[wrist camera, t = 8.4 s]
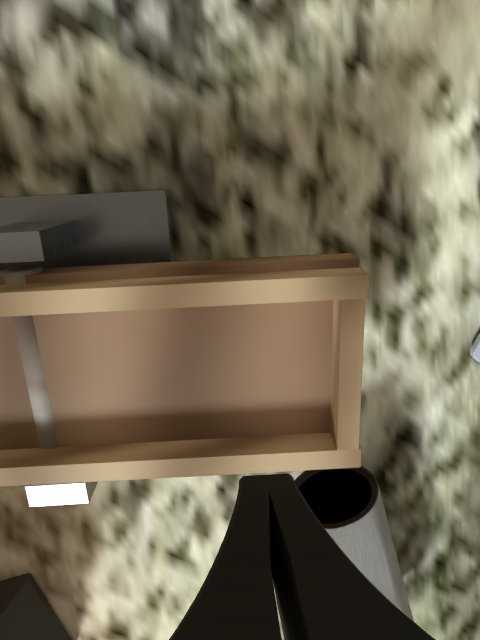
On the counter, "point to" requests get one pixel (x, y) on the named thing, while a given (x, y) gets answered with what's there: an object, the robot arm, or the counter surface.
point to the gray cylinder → (357, 525)
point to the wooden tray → (180, 368)
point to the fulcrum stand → (83, 256)
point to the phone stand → (27, 612)
